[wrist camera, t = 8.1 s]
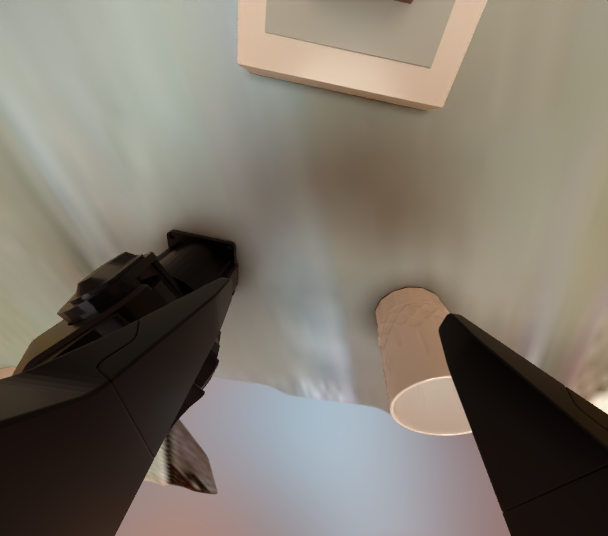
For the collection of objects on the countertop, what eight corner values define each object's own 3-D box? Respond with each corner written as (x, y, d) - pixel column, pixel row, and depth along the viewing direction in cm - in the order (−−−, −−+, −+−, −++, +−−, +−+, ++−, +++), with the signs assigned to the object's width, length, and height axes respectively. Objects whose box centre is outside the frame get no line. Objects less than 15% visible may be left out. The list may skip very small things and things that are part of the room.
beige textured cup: (387, 273, 22) (423, 364, 14) (463, 292, 22) (545, 392, 14) (359, 328, 26) (373, 423, 18) (423, 342, 26) (468, 443, 18)
